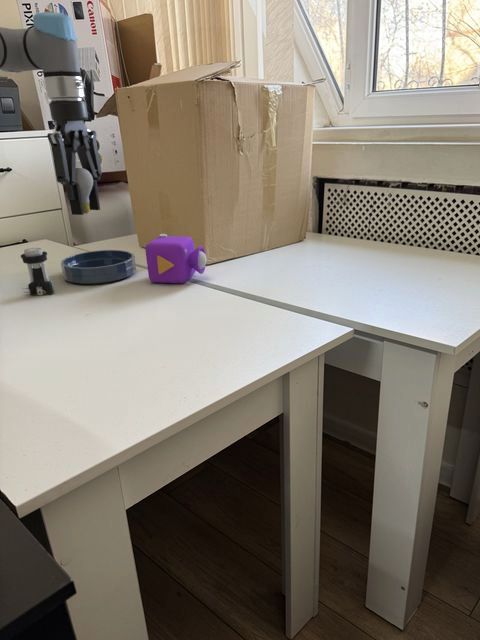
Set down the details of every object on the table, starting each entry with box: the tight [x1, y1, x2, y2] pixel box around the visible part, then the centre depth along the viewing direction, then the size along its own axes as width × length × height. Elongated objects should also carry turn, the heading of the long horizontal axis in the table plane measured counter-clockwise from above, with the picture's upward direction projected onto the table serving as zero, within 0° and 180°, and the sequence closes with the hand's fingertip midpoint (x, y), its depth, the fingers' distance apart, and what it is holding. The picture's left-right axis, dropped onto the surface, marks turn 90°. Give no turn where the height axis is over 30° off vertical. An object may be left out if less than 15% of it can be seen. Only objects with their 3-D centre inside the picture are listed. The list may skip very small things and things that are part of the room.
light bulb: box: [69, 167, 93, 214], centre depth 115 cm, size 5×6×10 cm
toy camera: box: [145, 233, 208, 284], centre depth 119 cm, size 11×14×10 cm
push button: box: [20, 247, 55, 296], centre depth 112 cm, size 7×5×10 cm
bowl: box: [60, 249, 137, 285], centre depth 125 cm, size 17×17×4 cm
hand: (86, 211), depth 117 cm, fingers closed on light bulb, 5 cm apart
